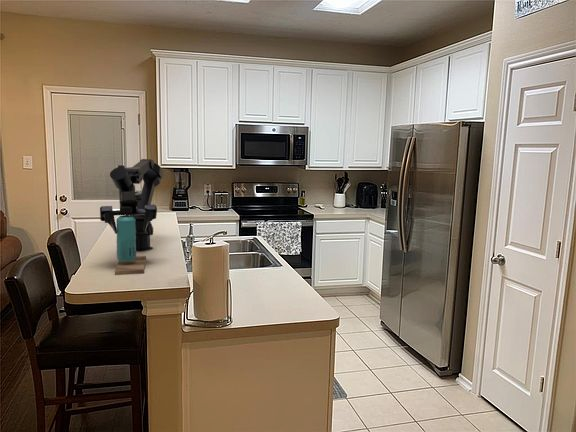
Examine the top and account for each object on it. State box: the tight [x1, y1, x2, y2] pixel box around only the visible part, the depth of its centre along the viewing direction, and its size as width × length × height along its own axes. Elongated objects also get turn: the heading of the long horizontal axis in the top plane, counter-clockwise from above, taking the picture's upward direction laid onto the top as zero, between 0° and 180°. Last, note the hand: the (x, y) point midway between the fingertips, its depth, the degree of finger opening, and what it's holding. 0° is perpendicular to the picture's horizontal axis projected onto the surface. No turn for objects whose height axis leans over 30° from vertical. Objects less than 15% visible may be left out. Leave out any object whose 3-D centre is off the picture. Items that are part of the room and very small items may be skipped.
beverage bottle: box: [115, 206, 137, 261], centre depth 146 cm, size 6×7×20 cm
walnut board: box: [114, 255, 147, 276], centre depth 148 cm, size 18×9×1 cm, turn 16°
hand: (130, 232), depth 146 cm, fingers open, 9 cm apart
